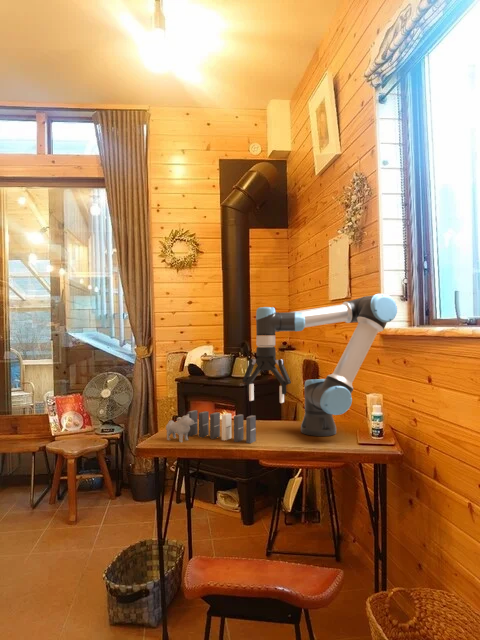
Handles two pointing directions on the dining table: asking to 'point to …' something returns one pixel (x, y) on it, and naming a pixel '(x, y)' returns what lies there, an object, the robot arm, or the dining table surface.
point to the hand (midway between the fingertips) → (266, 401)
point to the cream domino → (226, 426)
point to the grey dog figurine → (179, 427)
